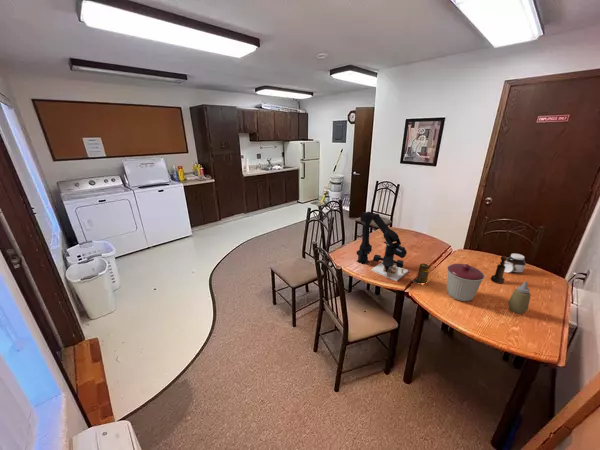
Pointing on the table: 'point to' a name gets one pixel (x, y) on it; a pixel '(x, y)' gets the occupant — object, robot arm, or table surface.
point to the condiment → (422, 274)
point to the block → (390, 271)
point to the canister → (463, 281)
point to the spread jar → (515, 263)
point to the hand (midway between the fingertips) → (386, 272)
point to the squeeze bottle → (520, 299)
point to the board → (394, 276)
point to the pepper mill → (499, 272)
